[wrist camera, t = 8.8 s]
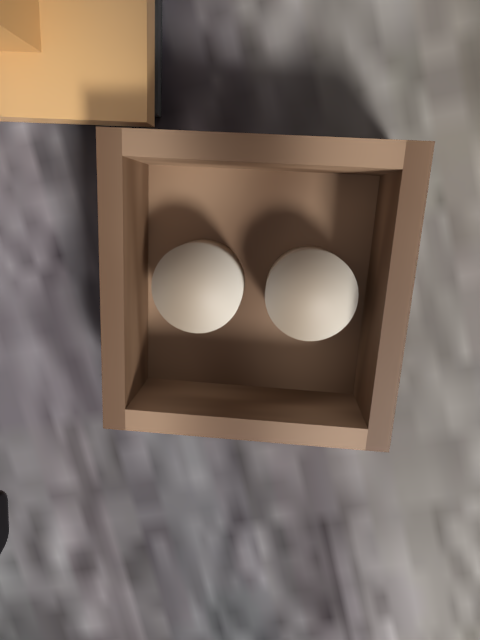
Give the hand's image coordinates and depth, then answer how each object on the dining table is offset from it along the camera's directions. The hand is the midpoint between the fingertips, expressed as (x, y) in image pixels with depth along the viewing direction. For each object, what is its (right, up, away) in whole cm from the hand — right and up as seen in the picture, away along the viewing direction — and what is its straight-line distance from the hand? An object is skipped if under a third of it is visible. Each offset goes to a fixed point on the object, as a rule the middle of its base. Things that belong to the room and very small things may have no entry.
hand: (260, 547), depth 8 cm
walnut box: (0, +6, +11) cm, 12 cm away
